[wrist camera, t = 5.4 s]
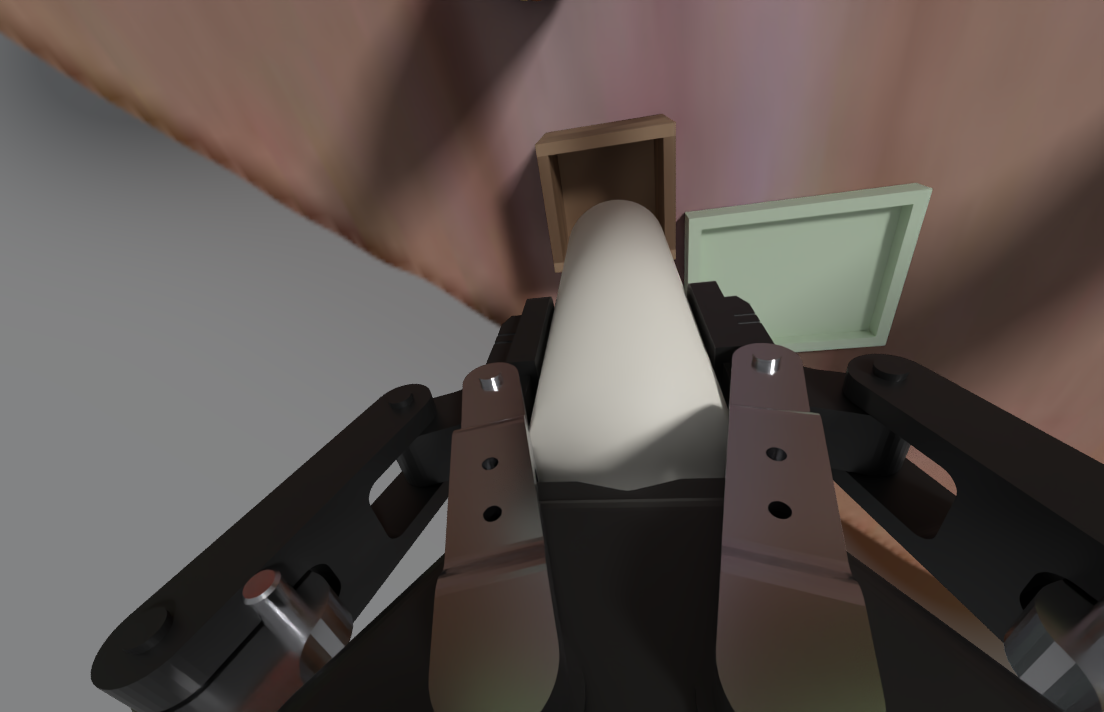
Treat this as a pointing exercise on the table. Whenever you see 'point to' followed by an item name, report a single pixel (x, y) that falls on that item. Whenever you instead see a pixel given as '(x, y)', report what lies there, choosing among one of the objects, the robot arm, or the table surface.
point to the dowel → (625, 364)
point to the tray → (812, 262)
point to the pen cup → (608, 174)
